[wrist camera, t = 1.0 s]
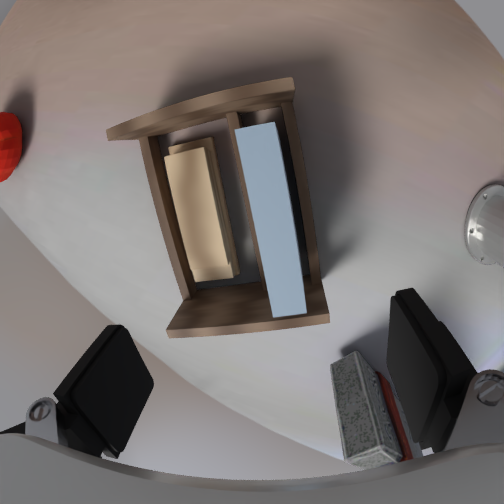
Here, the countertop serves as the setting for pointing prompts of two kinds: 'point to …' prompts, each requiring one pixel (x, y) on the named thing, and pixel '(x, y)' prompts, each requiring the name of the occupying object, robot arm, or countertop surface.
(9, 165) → the tomato
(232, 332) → the walnut rack
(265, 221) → the painted sheet
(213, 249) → the offcut stack
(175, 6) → the countertop surface
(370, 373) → the decorative stone tablet
